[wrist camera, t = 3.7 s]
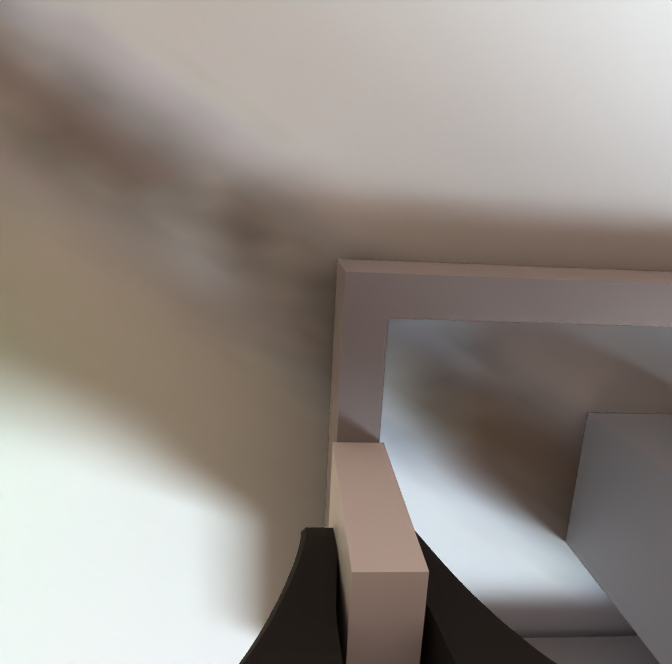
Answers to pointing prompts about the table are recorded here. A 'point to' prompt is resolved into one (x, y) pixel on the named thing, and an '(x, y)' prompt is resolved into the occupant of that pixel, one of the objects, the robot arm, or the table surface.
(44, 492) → the table surface
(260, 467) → the table surface
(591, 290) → the grey square tray
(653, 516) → the grey block
